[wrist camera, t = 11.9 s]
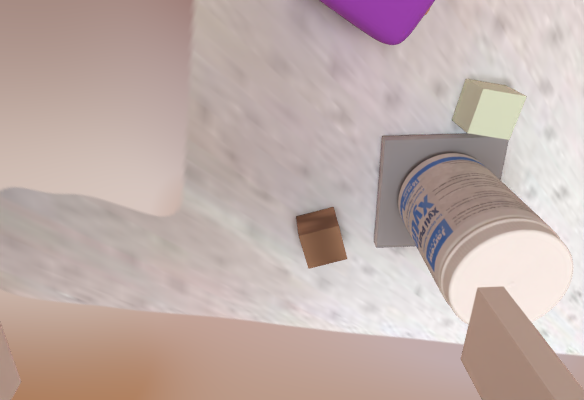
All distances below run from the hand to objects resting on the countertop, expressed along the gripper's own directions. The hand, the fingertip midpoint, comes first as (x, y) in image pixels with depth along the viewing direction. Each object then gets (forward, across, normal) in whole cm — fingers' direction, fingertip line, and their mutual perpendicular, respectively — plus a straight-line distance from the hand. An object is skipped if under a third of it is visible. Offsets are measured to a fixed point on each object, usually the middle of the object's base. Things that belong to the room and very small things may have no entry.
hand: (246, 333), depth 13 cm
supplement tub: (+31, +19, -11) cm, 38 cm away
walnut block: (+33, +7, -16) cm, 37 cm away
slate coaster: (+32, +19, -11) cm, 39 cm away
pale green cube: (+32, +22, -2) cm, 39 cm away
